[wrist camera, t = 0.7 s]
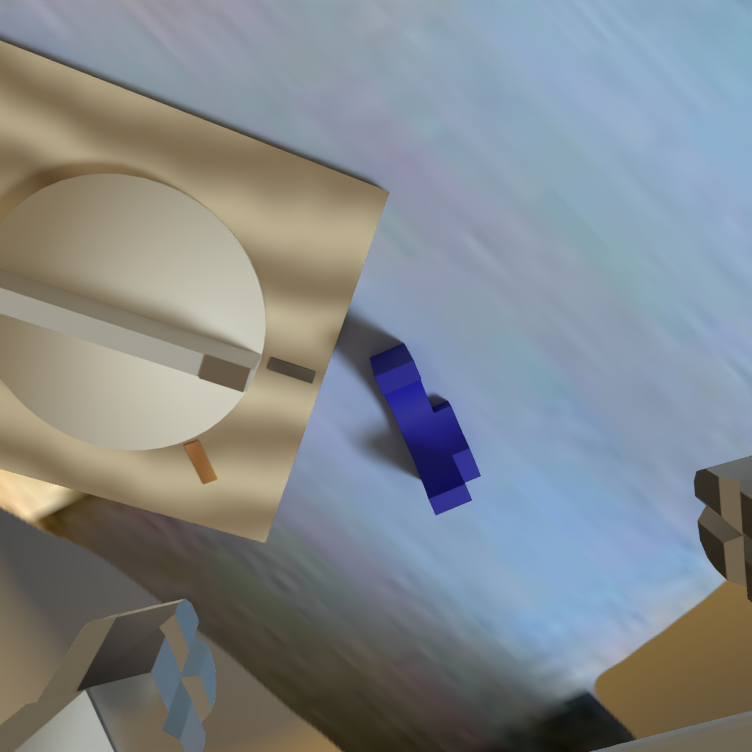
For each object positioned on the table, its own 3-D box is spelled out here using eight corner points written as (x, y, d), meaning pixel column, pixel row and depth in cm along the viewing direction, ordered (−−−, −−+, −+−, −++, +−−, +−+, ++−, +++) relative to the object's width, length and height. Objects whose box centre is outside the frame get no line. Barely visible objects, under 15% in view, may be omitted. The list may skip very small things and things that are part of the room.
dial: (18, 130, 39) (-36, 115, 34) (301, 234, 42) (296, 237, 37) (-36, 397, 44) (-93, 425, 38) (223, 474, 47) (208, 510, 41)
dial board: (-31, 30, 39) (-46, 22, 38) (387, 192, 44) (389, 191, 42) (-102, 429, 46) (-118, 437, 44) (267, 533, 50) (264, 544, 49)
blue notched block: (472, 460, 50) (490, 492, 44) (424, 481, 50) (435, 515, 45) (421, 335, 47) (433, 352, 41) (369, 357, 47) (374, 376, 41)
